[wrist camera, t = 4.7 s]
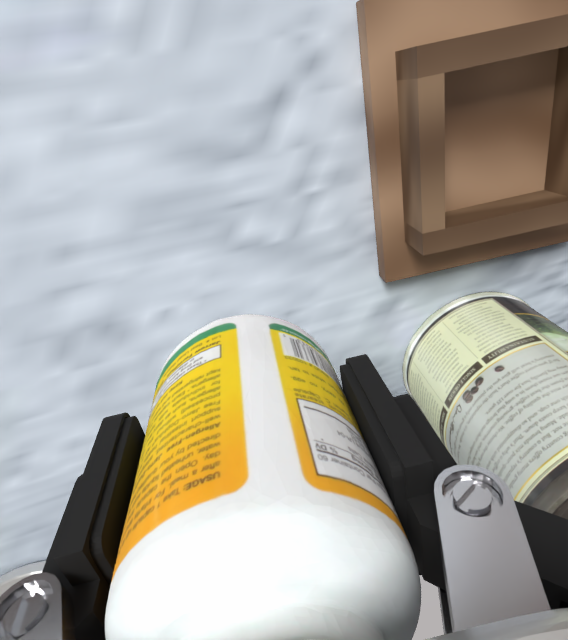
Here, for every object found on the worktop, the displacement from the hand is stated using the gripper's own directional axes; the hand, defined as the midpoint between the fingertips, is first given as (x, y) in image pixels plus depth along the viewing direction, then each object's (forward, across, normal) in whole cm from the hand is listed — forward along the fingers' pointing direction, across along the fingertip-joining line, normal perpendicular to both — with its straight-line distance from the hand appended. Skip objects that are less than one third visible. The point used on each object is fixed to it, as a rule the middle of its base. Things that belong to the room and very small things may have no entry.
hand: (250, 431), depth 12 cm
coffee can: (+15, -15, +11) cm, 24 cm away
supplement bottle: (+2, 0, 0) cm, 2 cm away
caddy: (+15, -15, -4) cm, 21 cm away
